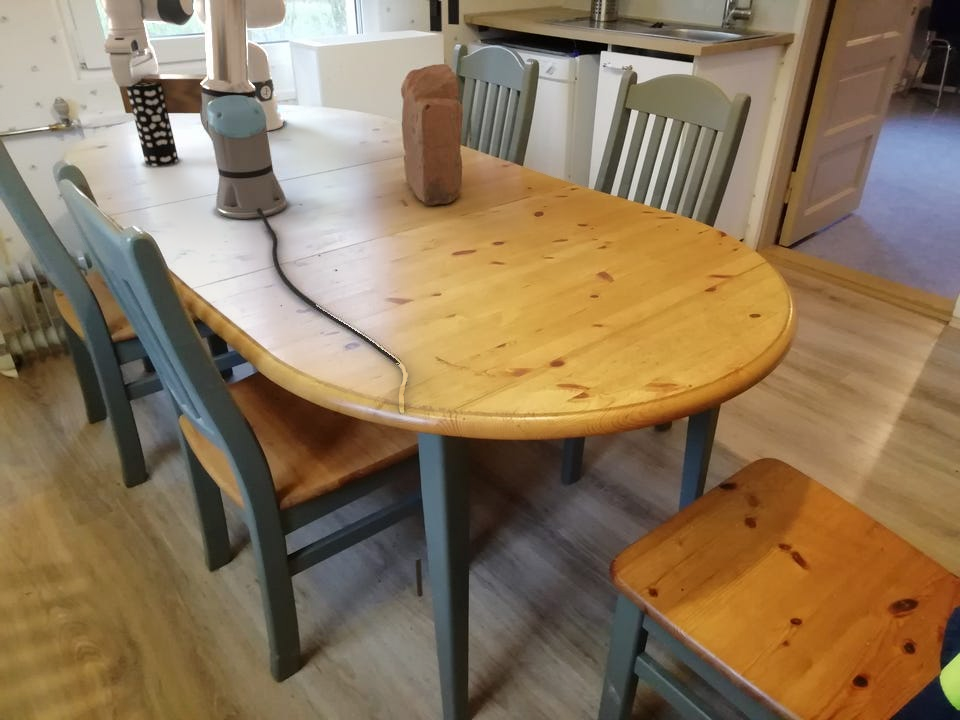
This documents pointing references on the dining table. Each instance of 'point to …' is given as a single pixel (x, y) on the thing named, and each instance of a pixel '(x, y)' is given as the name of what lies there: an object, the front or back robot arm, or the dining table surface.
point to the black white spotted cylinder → (153, 124)
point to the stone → (432, 134)
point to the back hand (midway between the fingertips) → (143, 97)
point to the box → (174, 92)
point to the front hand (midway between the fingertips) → (445, 27)
